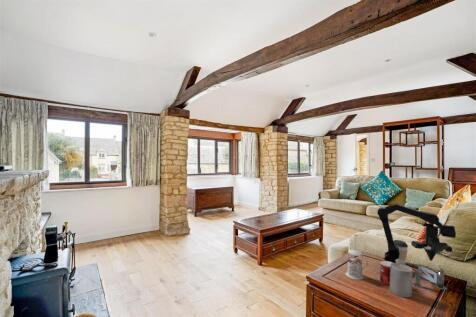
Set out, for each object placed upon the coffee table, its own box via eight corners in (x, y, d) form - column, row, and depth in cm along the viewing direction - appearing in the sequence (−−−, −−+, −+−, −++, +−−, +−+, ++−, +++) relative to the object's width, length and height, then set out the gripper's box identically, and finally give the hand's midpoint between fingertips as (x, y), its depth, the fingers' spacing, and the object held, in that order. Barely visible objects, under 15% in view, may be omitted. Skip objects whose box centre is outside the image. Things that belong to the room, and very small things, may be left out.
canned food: (381, 277, 138) (382, 259, 138) (397, 283, 133) (398, 264, 133) (378, 282, 133) (378, 263, 133) (394, 288, 127) (395, 268, 127)
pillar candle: (390, 285, 130) (391, 258, 130) (412, 291, 124) (413, 264, 124) (388, 292, 123) (389, 264, 123) (411, 300, 117) (412, 270, 116)
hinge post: (438, 288, 128) (438, 269, 128) (434, 285, 132) (435, 266, 132) (447, 290, 127) (447, 270, 127) (442, 286, 131) (443, 267, 131)
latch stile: (414, 286, 130) (415, 271, 130) (412, 283, 133) (412, 268, 133) (422, 287, 129) (422, 272, 129) (419, 284, 132) (420, 269, 132)
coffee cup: (402, 260, 164) (402, 239, 164) (410, 266, 155) (411, 243, 155) (388, 259, 165) (389, 238, 165) (396, 265, 156) (396, 242, 156)
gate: (438, 284, 131) (438, 273, 131) (436, 284, 131) (436, 273, 131) (419, 274, 142) (419, 265, 142) (417, 274, 142) (418, 265, 142)
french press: (344, 270, 147) (346, 230, 147) (365, 273, 143) (366, 233, 143) (346, 277, 137) (347, 235, 137) (368, 281, 133) (369, 238, 133)
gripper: (420, 237, 134) (419, 264, 134) (459, 240, 129) (458, 268, 129) (411, 231, 144) (410, 256, 144) (446, 234, 140) (445, 260, 140)
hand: (430, 260), depth 139 cm, fingers closed
